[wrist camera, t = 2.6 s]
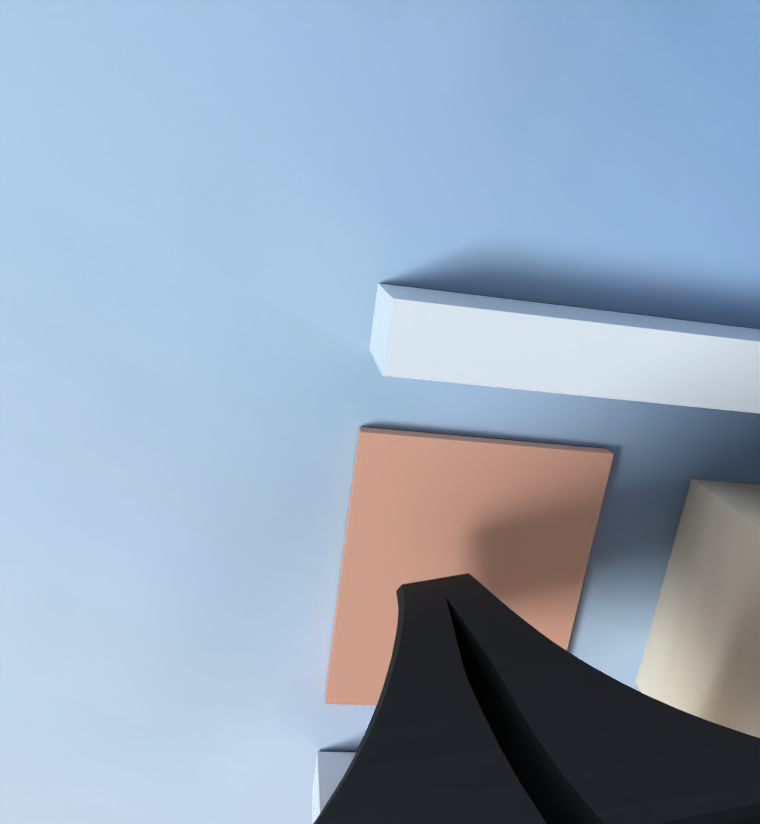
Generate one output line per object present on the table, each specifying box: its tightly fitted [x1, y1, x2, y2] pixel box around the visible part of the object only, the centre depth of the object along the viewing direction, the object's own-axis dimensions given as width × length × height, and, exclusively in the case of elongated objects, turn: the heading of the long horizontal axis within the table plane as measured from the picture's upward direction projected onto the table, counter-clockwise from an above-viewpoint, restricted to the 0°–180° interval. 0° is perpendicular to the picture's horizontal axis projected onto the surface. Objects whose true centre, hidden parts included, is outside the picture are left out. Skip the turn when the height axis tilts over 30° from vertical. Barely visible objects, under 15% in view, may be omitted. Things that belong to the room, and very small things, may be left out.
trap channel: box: [312, 283, 760, 823], centre depth 14 cm, size 16×11×2 cm
